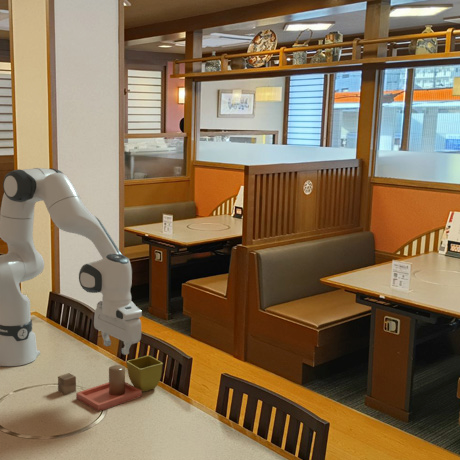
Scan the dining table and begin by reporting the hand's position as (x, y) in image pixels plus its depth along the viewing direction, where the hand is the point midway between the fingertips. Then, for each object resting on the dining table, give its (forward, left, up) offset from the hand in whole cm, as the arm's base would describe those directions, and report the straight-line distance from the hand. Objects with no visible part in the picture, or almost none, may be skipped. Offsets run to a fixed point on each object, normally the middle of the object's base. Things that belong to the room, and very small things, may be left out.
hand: (116, 349), depth 191 cm
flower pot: (+2, +10, -15) cm, 18 cm away
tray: (0, -3, -15) cm, 15 cm away
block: (-13, -10, -15) cm, 22 cm away
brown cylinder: (0, 0, -14) cm, 14 cm away
